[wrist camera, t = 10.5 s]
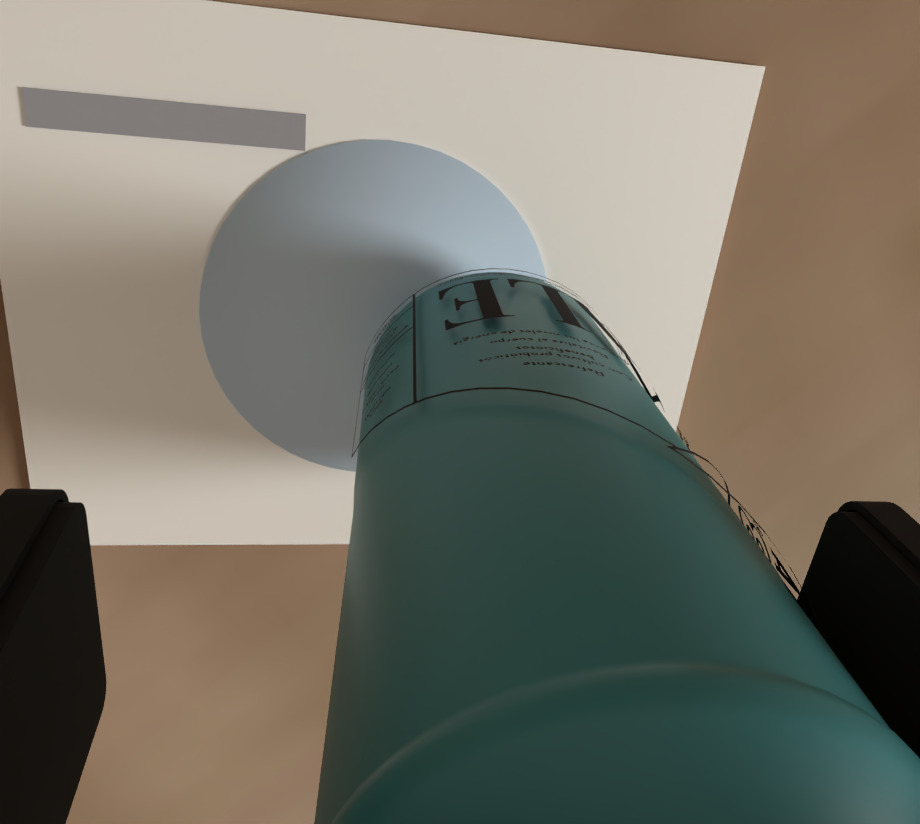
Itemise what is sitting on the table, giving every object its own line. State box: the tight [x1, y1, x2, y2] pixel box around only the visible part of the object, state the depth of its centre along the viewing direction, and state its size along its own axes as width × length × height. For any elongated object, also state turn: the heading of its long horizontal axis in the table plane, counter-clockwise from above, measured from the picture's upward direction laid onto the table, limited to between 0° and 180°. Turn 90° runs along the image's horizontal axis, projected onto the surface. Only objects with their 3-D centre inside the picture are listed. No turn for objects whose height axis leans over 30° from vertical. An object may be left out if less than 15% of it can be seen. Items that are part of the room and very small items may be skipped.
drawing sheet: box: [0, 0, 765, 545], centre depth 21 cm, size 14×18×1 cm
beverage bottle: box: [314, 268, 920, 824], centre depth 12 cm, size 6×7×20 cm
